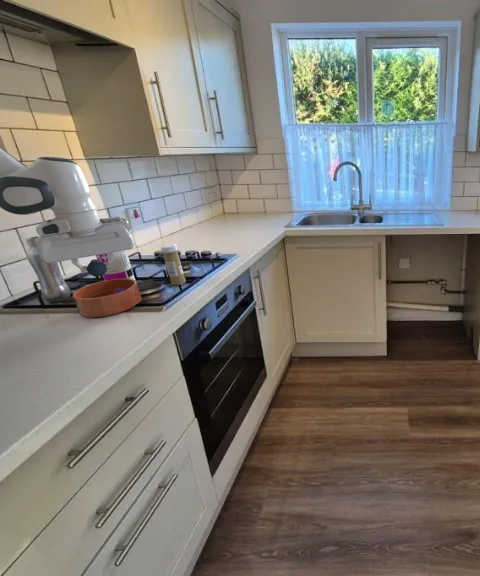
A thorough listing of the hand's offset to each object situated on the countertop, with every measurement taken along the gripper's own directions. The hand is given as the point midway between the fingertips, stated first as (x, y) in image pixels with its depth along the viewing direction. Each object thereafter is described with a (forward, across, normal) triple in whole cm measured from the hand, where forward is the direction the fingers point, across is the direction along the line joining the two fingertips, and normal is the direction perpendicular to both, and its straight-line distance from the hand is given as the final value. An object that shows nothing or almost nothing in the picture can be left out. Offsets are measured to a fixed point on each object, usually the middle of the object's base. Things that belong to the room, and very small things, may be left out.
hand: (97, 270), depth 101 cm
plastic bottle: (+12, +12, -19) cm, 26 cm away
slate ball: (+2, 0, 0) cm, 2 cm away
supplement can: (+12, -4, -21) cm, 25 cm away
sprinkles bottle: (+12, -19, -9) cm, 25 cm away
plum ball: (+10, -1, -2) cm, 10 cm away
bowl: (+12, 0, -2) cm, 12 cm away
